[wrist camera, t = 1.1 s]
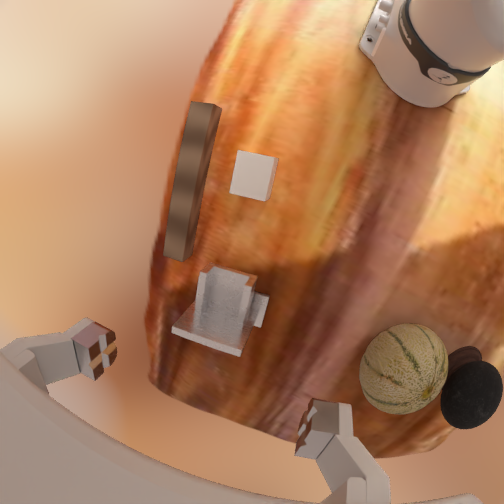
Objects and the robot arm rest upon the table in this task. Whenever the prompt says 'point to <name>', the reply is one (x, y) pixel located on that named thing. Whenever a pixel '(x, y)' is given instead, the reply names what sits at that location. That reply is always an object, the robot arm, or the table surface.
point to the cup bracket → (223, 310)
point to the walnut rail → (190, 179)
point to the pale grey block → (253, 175)
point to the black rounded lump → (470, 389)
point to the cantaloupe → (403, 368)
